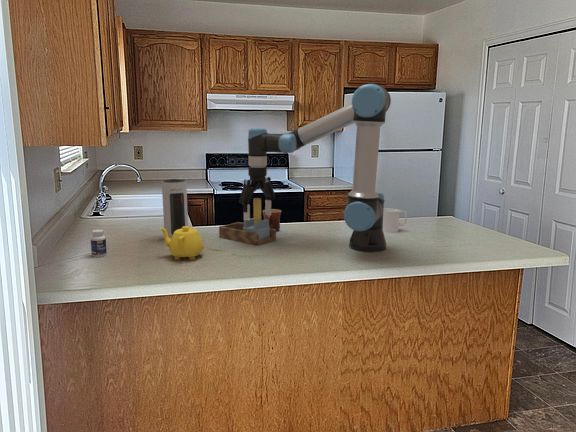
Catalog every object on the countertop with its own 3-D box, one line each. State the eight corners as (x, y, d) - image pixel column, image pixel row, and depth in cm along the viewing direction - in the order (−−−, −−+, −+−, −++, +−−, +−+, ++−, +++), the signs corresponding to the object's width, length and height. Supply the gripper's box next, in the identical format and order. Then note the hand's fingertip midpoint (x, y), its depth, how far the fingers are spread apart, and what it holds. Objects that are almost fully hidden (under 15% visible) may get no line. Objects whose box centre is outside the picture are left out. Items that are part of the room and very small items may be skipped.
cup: (407, 233, 227) (408, 212, 225) (381, 232, 229) (382, 211, 227) (405, 229, 235) (406, 208, 233) (380, 228, 237) (381, 208, 235)
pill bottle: (97, 258, 183) (96, 232, 181) (88, 255, 186) (86, 231, 184) (109, 254, 188) (108, 230, 186) (100, 252, 190) (99, 228, 188)
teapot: (190, 249, 196) (189, 220, 194) (211, 256, 186) (210, 226, 184) (159, 256, 187) (158, 226, 184) (180, 264, 177) (179, 232, 174)
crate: (269, 240, 206) (269, 219, 205) (257, 244, 200) (257, 222, 198) (255, 237, 211) (255, 217, 209) (243, 240, 205) (242, 220, 203)
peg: (262, 226, 204) (262, 198, 202) (257, 228, 202) (257, 199, 199) (256, 225, 206) (256, 197, 204) (252, 227, 204) (251, 198, 201)
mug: (265, 229, 231) (265, 208, 229) (283, 230, 229) (283, 209, 227) (258, 235, 219) (258, 213, 217) (277, 237, 218) (277, 214, 216)
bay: (275, 243, 207) (276, 229, 206) (257, 248, 198) (257, 234, 197) (238, 234, 221) (238, 222, 219) (219, 239, 211) (219, 226, 210)
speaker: (163, 242, 207) (160, 181, 201) (164, 236, 217) (162, 178, 211) (188, 241, 209) (186, 180, 203) (188, 235, 219) (186, 177, 213)
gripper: (270, 163, 211) (270, 211, 215) (229, 168, 192) (230, 220, 196) (283, 164, 206) (283, 214, 210) (243, 169, 187) (243, 223, 191)
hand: (257, 217), depth 203 cm, fingers open, 13 cm apart
